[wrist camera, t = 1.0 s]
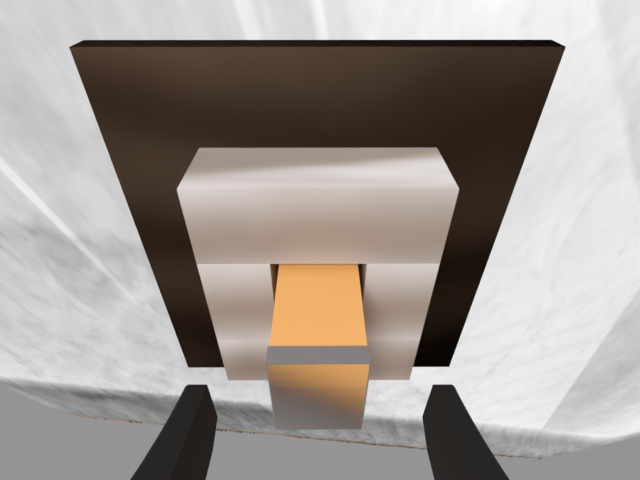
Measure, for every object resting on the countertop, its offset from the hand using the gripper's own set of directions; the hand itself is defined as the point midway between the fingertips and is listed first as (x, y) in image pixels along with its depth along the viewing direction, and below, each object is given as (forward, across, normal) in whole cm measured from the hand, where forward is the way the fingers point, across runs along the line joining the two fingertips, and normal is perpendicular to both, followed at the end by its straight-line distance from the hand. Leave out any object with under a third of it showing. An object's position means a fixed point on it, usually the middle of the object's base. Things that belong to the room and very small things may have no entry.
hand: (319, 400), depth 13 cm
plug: (+7, 0, 0) cm, 7 cm away
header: (+8, 0, 0) cm, 8 cm away
